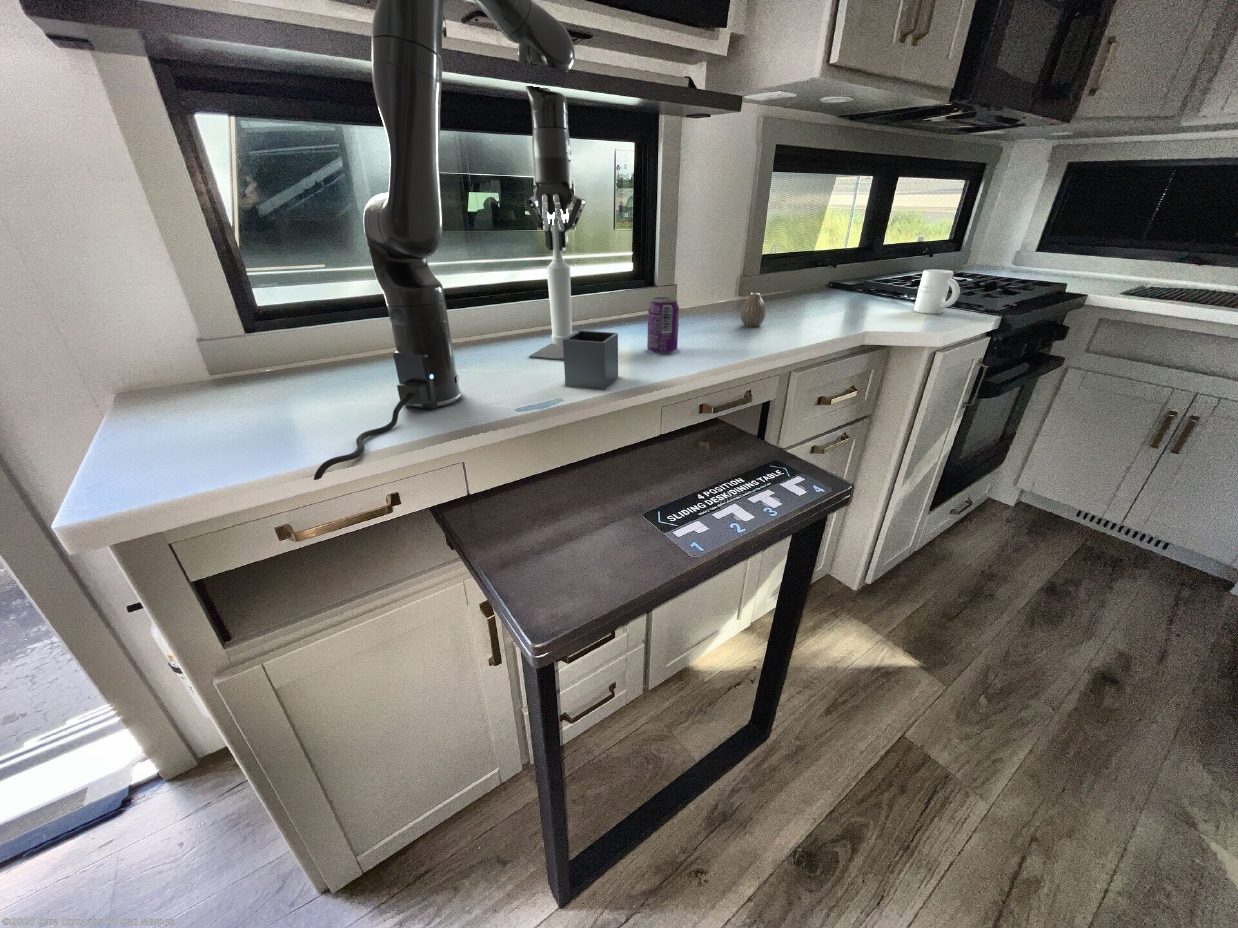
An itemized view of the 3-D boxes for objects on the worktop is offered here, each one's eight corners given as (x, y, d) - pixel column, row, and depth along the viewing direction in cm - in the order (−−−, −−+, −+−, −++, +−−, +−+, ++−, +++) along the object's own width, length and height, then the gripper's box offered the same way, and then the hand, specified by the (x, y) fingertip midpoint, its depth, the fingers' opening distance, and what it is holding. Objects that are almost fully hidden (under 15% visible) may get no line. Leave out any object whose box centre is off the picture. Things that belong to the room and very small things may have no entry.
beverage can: (682, 350, 121) (685, 298, 116) (668, 357, 116) (670, 303, 110) (656, 346, 125) (658, 295, 119) (641, 352, 120) (642, 300, 114)
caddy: (605, 390, 96) (604, 343, 92) (565, 386, 98) (562, 339, 94) (618, 377, 103) (617, 332, 99) (580, 373, 105) (579, 330, 101)
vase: (735, 326, 143) (738, 294, 139) (745, 322, 148) (748, 290, 144) (758, 329, 140) (762, 296, 136) (767, 324, 145) (771, 293, 141)
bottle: (553, 346, 116) (545, 225, 104) (550, 340, 120) (542, 224, 109) (575, 344, 117) (570, 225, 105) (571, 339, 121) (565, 224, 110)
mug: (944, 317, 153) (956, 275, 147) (907, 310, 162) (917, 270, 156) (960, 314, 156) (972, 273, 151) (923, 307, 165) (933, 268, 160)
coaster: (577, 361, 113) (577, 360, 113) (529, 357, 116) (529, 356, 116) (596, 348, 123) (596, 346, 123) (551, 345, 126) (551, 343, 126)
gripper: (512, 156, 100) (520, 251, 108) (577, 154, 96) (580, 252, 104) (529, 159, 106) (536, 248, 114) (590, 157, 102) (593, 249, 110)
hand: (557, 250), depth 109 cm, fingers closed on bottle, 2 cm apart
